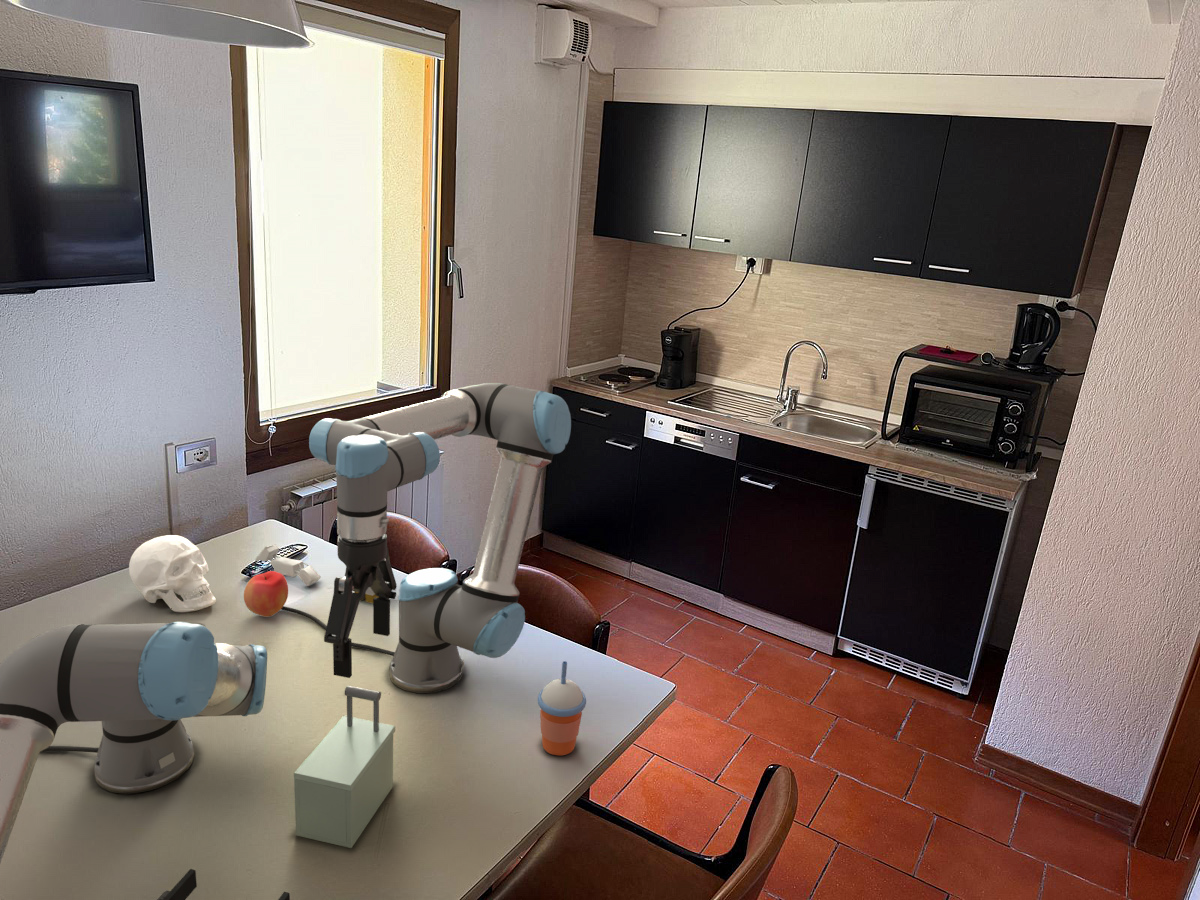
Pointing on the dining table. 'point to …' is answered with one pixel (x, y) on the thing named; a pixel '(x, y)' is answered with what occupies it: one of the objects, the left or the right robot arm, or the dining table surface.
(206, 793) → the dining table surface
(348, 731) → the lid
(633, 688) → the dining table surface
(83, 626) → the left robot arm
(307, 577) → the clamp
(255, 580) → the apple
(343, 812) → the chest
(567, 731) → the cup with straw
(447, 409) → the right robot arm
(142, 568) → the skull
